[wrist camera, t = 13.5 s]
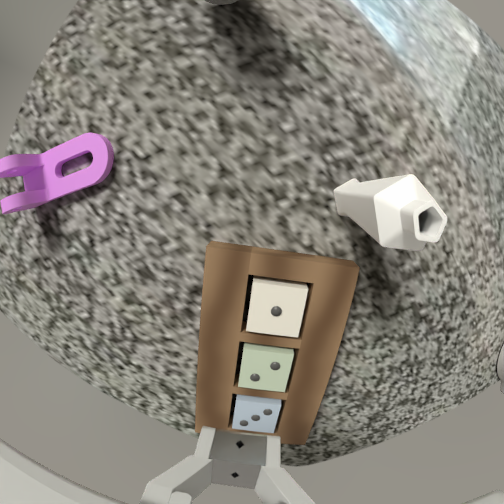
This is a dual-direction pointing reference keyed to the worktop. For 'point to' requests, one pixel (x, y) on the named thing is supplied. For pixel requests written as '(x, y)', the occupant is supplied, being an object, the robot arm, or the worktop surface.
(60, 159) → the bracket
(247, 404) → the tile
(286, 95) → the worktop surface
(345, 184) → the white faceted bottle
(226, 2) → the light bulb
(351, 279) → the dice board
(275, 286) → the tile
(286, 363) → the tile
